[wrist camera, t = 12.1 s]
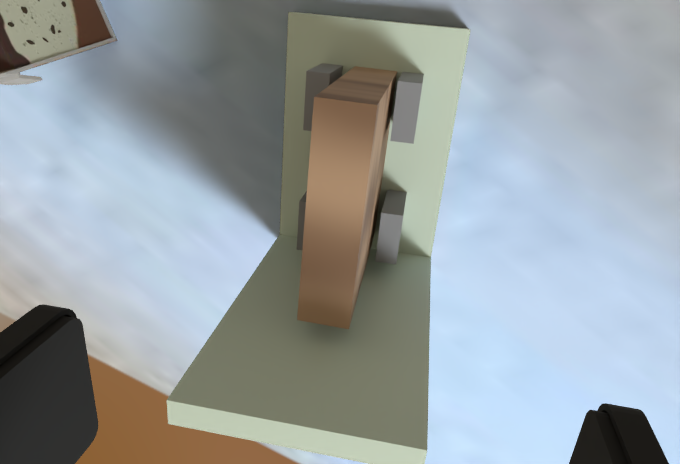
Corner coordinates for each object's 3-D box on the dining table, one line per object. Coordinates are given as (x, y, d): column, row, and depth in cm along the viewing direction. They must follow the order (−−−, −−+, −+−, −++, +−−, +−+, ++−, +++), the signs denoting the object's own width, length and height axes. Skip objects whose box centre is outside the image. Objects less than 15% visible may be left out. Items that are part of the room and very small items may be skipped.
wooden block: (344, 64, 29) (298, 94, 20) (397, 71, 29) (377, 105, 19) (329, 225, 34) (284, 317, 24) (374, 232, 33) (348, 329, 23)
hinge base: (294, 12, 30) (140, 18, 14) (468, 28, 29) (508, 55, 13) (284, 243, 36) (168, 426, 21) (427, 265, 35) (421, 477, 19)
